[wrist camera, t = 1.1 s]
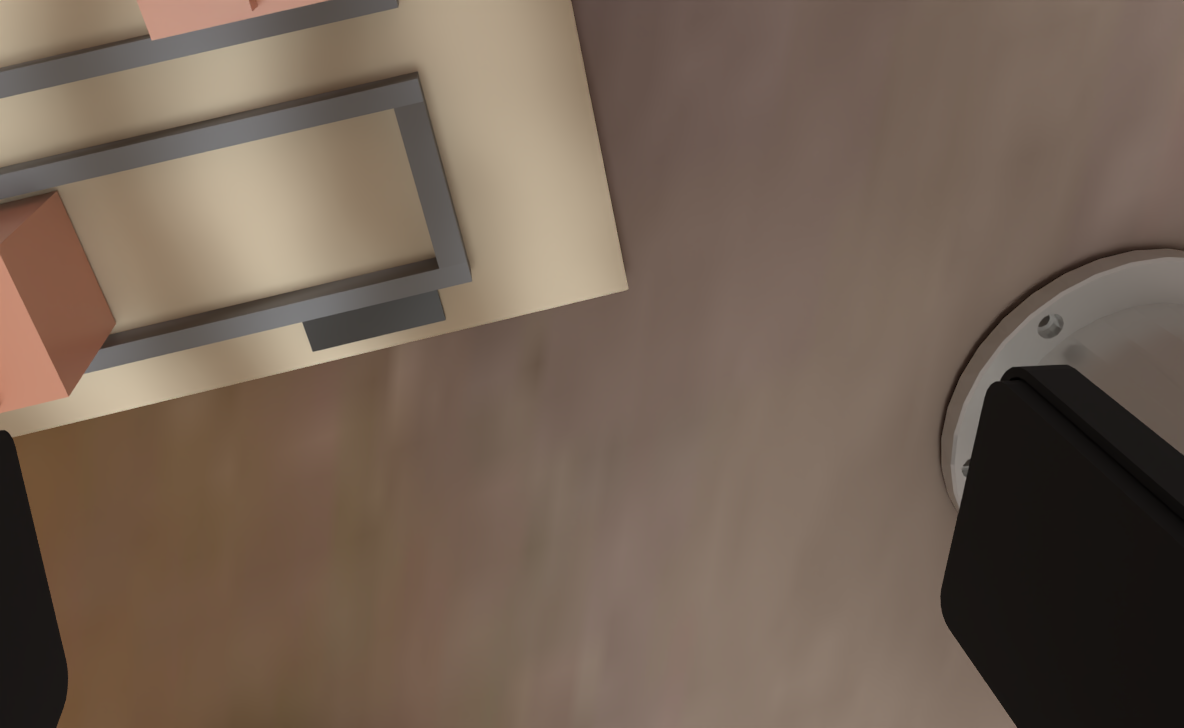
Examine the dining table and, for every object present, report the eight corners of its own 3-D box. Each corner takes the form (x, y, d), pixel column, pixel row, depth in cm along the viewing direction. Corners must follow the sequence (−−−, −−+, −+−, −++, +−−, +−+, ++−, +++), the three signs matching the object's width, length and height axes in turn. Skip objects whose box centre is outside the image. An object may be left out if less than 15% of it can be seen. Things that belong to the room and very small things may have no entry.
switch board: (492, -371, 26) (497, -389, 24) (622, 275, 33) (634, 302, 31) (-519, -152, 25) (-600, -152, 23) (-148, 459, 33) (-185, 498, 31)
